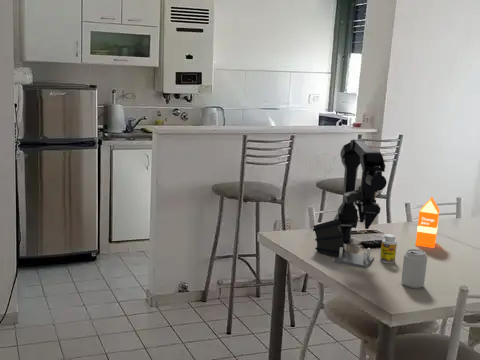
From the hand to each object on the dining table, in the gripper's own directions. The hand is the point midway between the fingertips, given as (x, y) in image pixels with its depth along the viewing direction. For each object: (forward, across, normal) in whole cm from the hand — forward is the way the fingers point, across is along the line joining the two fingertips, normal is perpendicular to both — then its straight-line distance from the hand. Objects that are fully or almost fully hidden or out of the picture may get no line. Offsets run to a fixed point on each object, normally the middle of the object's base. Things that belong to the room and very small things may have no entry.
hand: (363, 225), depth 222 cm
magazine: (+14, -6, -12) cm, 19 cm away
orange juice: (+13, -27, +34) cm, 45 cm away
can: (+14, +24, +13) cm, 31 cm away
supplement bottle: (+14, 0, +10) cm, 17 cm away
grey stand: (+14, +1, -2) cm, 14 cm away
